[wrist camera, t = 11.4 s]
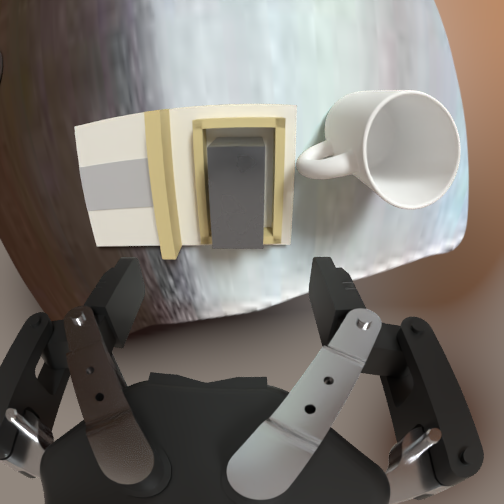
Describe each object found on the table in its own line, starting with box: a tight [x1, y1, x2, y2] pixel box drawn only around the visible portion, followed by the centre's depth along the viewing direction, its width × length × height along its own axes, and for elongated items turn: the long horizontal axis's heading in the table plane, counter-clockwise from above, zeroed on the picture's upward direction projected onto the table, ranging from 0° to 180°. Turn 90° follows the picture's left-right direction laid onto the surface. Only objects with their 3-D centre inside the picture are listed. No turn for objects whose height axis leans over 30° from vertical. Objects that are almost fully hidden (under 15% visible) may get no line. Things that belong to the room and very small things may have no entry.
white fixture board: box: [75, 104, 297, 259], centre depth 24 cm, size 22×14×4 cm, turn 90°
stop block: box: [207, 137, 265, 249], centre depth 23 cm, size 8×4×6 cm, turn 0°
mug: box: [296, 90, 460, 209], centre depth 19 cm, size 12×8×10 cm
